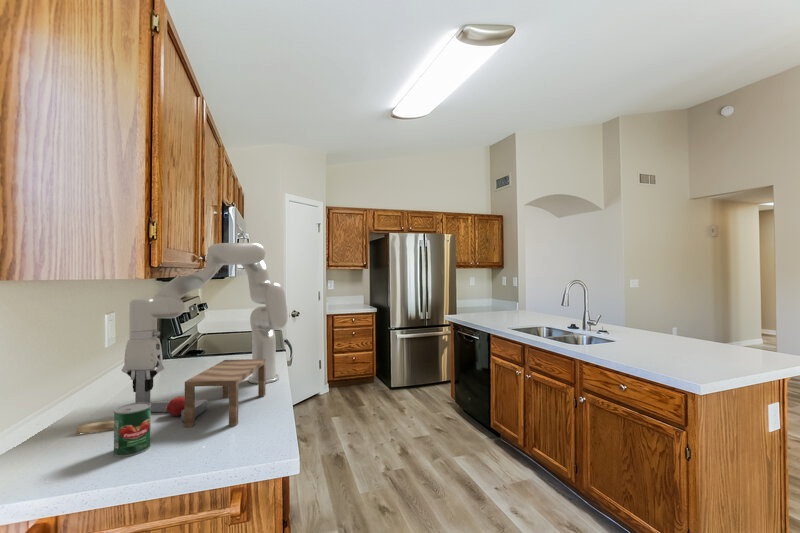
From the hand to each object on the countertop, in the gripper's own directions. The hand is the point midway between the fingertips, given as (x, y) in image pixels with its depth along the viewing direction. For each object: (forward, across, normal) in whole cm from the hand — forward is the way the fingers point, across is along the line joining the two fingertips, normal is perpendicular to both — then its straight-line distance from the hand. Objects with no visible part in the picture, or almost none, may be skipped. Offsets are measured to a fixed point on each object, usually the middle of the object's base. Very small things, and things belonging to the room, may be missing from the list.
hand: (143, 390), depth 125 cm
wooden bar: (+8, +2, +14) cm, 16 cm away
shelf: (+7, -28, 0) cm, 29 cm away
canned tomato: (+7, -14, +28) cm, 32 cm away
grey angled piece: (+7, -10, +4) cm, 13 cm away
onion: (+3, -18, +4) cm, 18 cm away
